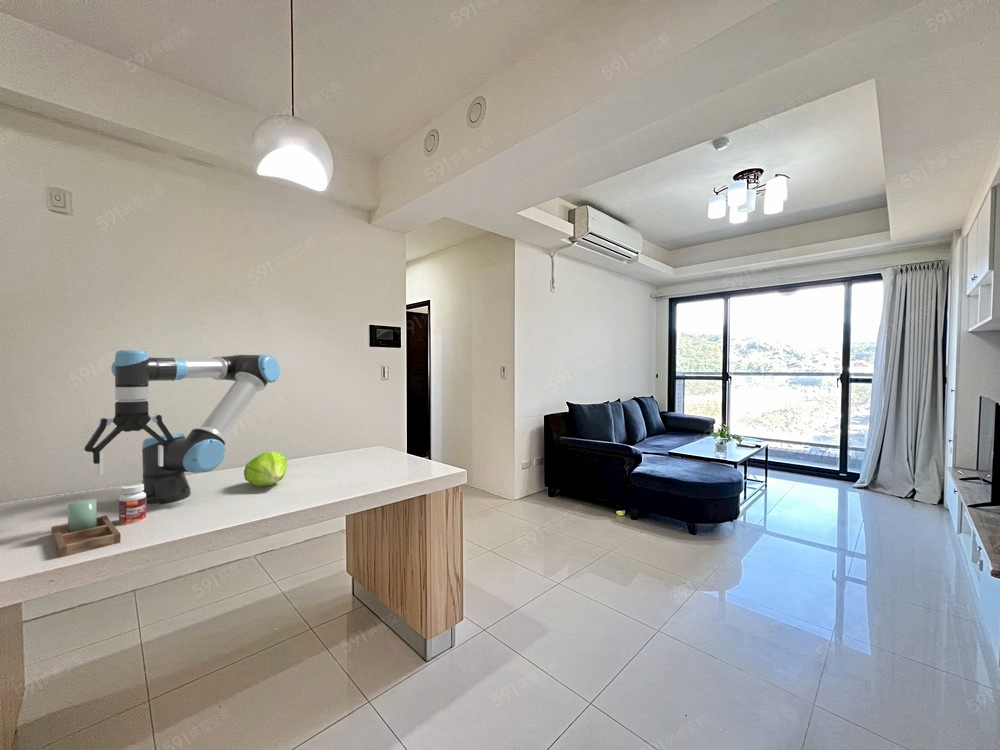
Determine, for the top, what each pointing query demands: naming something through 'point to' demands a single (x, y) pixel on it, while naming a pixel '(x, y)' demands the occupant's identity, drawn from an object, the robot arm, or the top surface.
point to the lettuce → (266, 469)
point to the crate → (84, 537)
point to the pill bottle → (132, 504)
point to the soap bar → (82, 515)
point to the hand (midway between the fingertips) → (132, 469)
